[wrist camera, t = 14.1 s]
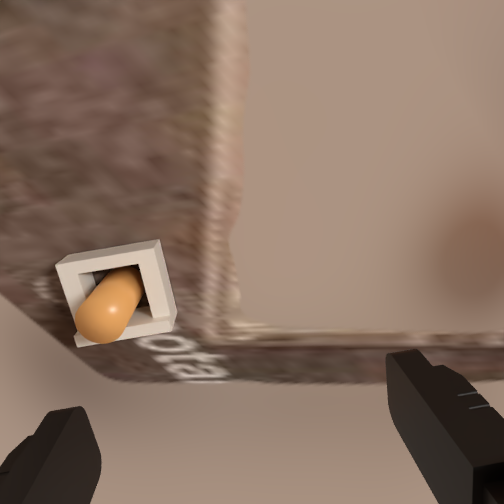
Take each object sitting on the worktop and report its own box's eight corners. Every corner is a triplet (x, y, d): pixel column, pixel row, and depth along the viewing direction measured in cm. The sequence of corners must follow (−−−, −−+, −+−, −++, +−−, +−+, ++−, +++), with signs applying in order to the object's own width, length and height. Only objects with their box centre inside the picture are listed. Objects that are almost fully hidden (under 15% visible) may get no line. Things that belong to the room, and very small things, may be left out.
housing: (68, 254, 37) (50, 268, 34) (159, 239, 37) (151, 251, 34) (91, 326, 40) (77, 347, 36) (177, 311, 40) (171, 331, 36)
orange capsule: (100, 269, 38) (68, 303, 30) (140, 262, 38) (118, 295, 30) (111, 305, 39) (83, 347, 32) (149, 298, 39) (130, 339, 32)
